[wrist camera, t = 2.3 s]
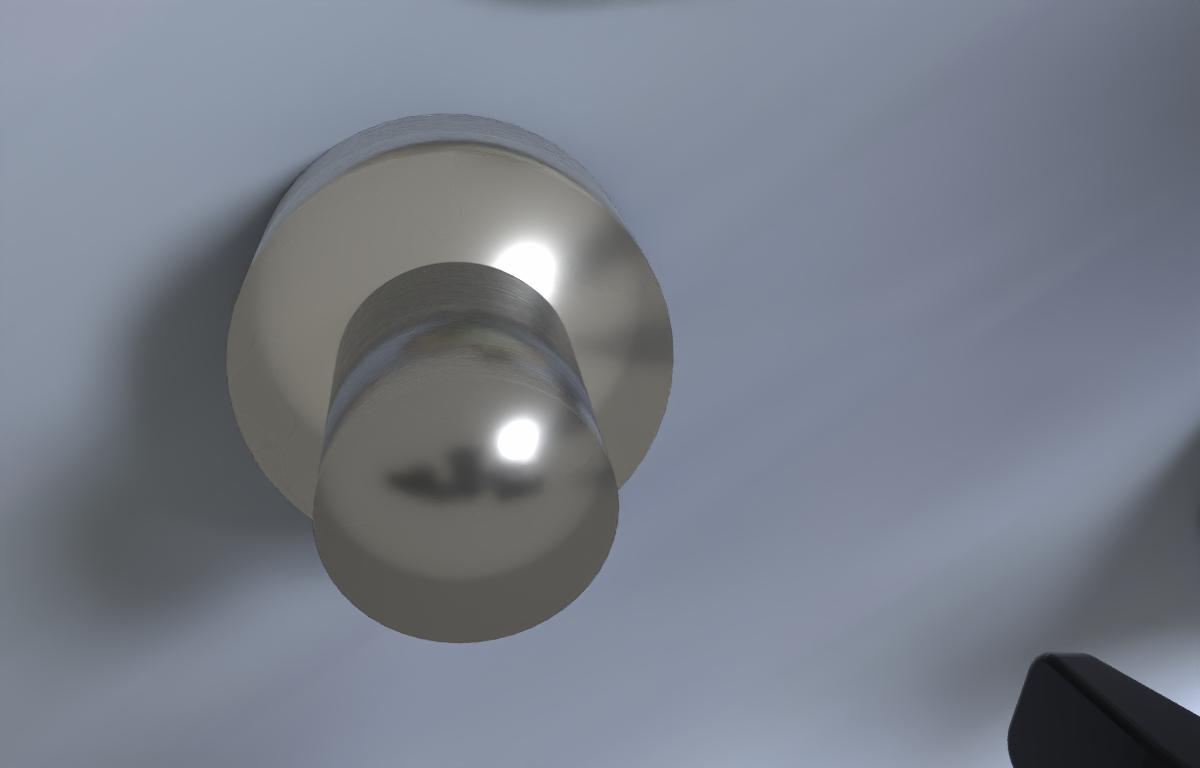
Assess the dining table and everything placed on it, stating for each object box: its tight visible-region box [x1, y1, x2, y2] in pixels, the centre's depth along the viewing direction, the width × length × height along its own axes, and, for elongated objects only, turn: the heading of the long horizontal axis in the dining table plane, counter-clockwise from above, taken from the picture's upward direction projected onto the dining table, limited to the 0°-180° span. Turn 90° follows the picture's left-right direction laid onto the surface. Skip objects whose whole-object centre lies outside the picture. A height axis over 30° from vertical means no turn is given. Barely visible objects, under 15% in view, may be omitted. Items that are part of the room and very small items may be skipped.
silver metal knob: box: [226, 114, 673, 643], centre depth 14 cm, size 6×6×6 cm
